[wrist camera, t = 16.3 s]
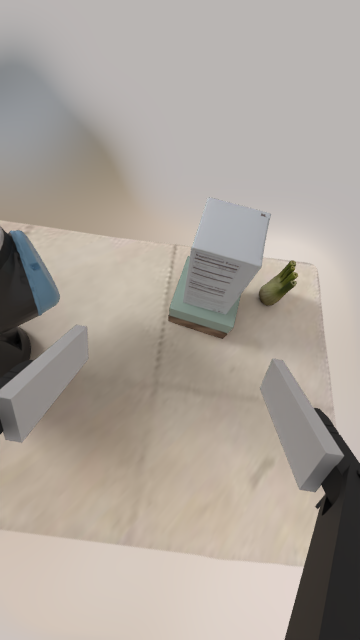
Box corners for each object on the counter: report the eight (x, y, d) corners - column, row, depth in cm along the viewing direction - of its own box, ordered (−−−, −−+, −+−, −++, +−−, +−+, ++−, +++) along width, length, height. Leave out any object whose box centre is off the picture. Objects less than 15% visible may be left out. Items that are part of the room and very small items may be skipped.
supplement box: (193, 264, 45) (207, 193, 29) (235, 276, 44) (272, 210, 29) (181, 303, 42) (190, 247, 26) (226, 316, 41) (263, 267, 25)
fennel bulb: (269, 311, 50) (299, 287, 39) (251, 300, 51) (275, 273, 40) (280, 294, 52) (311, 266, 41) (262, 284, 53) (288, 253, 41)
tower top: (169, 315, 45) (169, 308, 41) (186, 266, 49) (187, 255, 45) (227, 333, 44) (233, 327, 40) (239, 282, 49) (245, 272, 45)
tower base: (168, 321, 49) (168, 315, 45) (185, 276, 53) (186, 266, 49) (222, 339, 48) (226, 334, 44) (234, 291, 52) (239, 283, 48)
